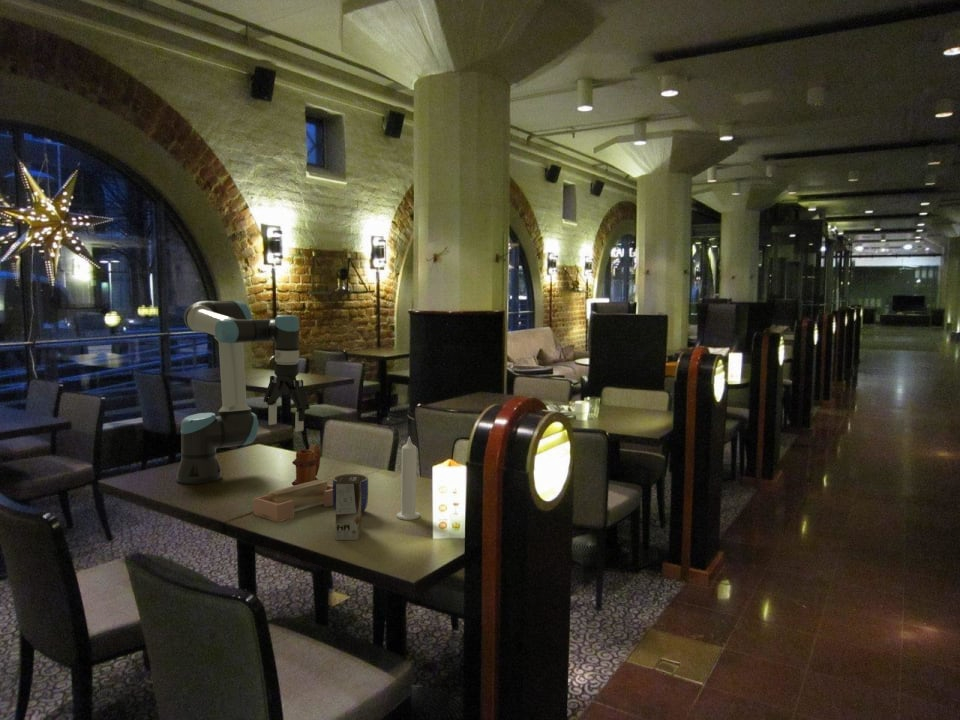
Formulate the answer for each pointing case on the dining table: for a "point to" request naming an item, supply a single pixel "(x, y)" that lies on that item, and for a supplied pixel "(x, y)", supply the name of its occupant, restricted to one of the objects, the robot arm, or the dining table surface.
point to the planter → (363, 490)
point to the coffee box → (348, 507)
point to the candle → (408, 482)
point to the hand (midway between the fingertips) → (285, 427)
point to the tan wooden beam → (300, 493)
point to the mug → (307, 465)
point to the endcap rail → (285, 506)
